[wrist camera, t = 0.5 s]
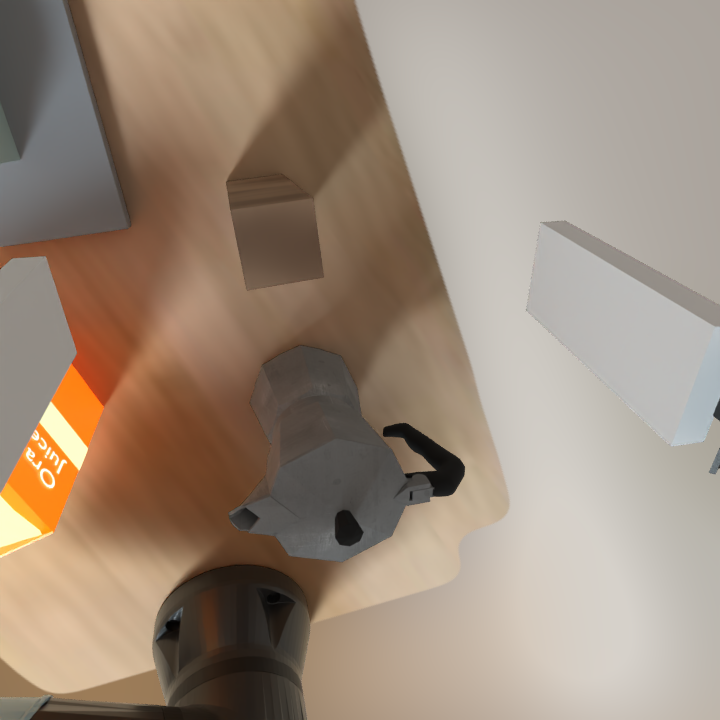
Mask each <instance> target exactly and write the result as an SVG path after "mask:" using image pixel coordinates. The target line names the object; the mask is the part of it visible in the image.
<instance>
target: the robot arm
mask: <svg viewBox="0 0 720 720" xmlns="http://www.w3.org/2000/svg"><path fill="white" fill-rule="evenodd" d="M526 311H528V313H529V314H530V315H532V316H533V317H534V318H535V319H536V320H537V321H538V322H539V323H540V324H541V325H542V326H543V327H544V328H545V329H547V330H548V331H549V332H550V333H551V334H552V335H553V336H554V337H555V338H556V339H557V340H558V341H559V342H560V343H561V344H562V345H564V346H565V347H566V348H567V349H568V350H569V351H570V352H571V353H572V354H573V355H574V356H575V357H576V358H577V359H578V360H580V361H581V362H582V363H583V364H584V365H585V366H586V367H587V368H588V369H589V370H590V371H591V372H592V373H593V374H594V375H595V376H597V378H599V379H600V380H601V381H602V382H603V383H604V384H605V385H606V386H607V387H608V388H609V389H610V390H611V391H613V392H614V393H615V394H616V395H617V396H618V397H619V398H620V399H621V400H622V401H623V402H624V403H625V404H626V405H627V406H628V407H629V408H631V409H632V410H633V411H634V412H635V413H636V414H637V415H638V416H639V417H640V418H641V419H642V420H643V421H644V422H645V423H646V424H647V425H649V426H650V427H651V428H652V429H653V430H654V431H655V432H656V433H657V434H658V435H659V436H660V437H661V438H662V439H664V440H665V441H666V442H667V443H668V444H669V445H670V446H677V445H684V444H691V443H698V442H704V440H705V437H706V435H707V433H708V430H709V427H710V425H711V423H712V420H713V418H714V417H715V418H717V419H718V420H719V421H720V305H719V304H717V303H715V302H713V301H711V300H709V299H708V298H706V297H704V296H702V295H700V294H699V293H697V292H695V291H693V290H691V289H689V288H687V287H686V286H684V285H682V284H680V283H678V282H677V281H675V280H673V279H671V278H669V277H667V276H665V275H664V274H662V273H660V272H658V271H656V270H655V269H653V268H651V267H649V266H647V265H645V264H644V263H642V262H640V261H638V260H636V259H634V258H633V257H631V256H629V255H627V254H625V253H623V252H622V251H620V250H618V249H616V248H614V247H612V246H611V245H609V244H607V243H605V242H603V241H601V240H600V239H598V238H596V237H594V236H592V235H590V234H589V233H587V232H585V231H583V230H581V229H579V228H578V227H576V226H574V225H572V224H570V223H568V222H567V221H555V222H541V223H540V229H539V235H538V242H537V247H536V253H535V259H534V265H533V271H532V277H531V284H530V290H529V296H528V302H527V308H526ZM76 354H77V351H76V348H75V345H74V342H73V339H72V336H71V332H70V329H69V326H68V323H67V320H66V317H65V314H64V311H63V308H62V305H61V302H60V299H59V296H58V293H57V289H56V286H55V283H54V280H53V277H52V274H51V271H50V268H49V265H48V262H47V259H46V256H41V257H27V258H12V259H11V260H10V261H9V262H8V263H7V264H6V265H4V266H3V267H2V268H1V269H0V494H1V492H2V490H3V489H4V487H5V485H6V483H7V481H8V479H9V477H10V476H11V474H12V472H13V470H14V468H15V466H16V465H17V463H18V461H19V459H20V457H21V455H22V454H23V452H24V450H25V448H26V446H27V444H28V443H29V441H30V439H31V437H32V435H33V433H34V431H35V430H36V428H37V426H38V424H39V422H40V420H41V419H42V417H43V415H44V413H45V411H46V409H47V408H48V406H49V404H50V402H51V400H52V398H53V397H54V395H55V393H56V391H57V389H58V387H59V385H60V384H61V382H62V380H63V378H64V376H65V374H66V373H67V371H68V369H69V367H70V365H71V363H72V362H73V360H74V358H75V356H76ZM719 468H720V448H719V451H718V453H717V455H716V457H715V460H714V462H713V465H712V467H711V469H710V471H709V473H712V474H716V472H717V470H718V469H719ZM309 634H310V618H309V612H308V607H307V602H306V599H305V596H304V594H303V592H302V590H301V589H300V587H299V586H298V585H297V584H296V583H295V582H294V581H293V580H292V579H290V578H289V577H287V576H286V575H284V574H282V573H280V572H278V571H275V570H272V569H269V568H265V567H260V566H250V565H239V566H229V567H223V568H219V569H215V570H212V571H209V572H206V573H204V574H201V575H199V576H197V577H195V578H193V579H191V580H189V581H188V582H186V583H184V584H183V585H182V586H180V587H179V588H178V589H177V590H175V591H174V592H173V593H172V594H171V595H170V596H169V597H168V599H167V600H166V601H165V602H164V604H163V605H162V607H161V609H160V610H159V613H158V615H157V618H156V621H155V627H154V636H153V644H152V649H153V658H154V662H155V666H156V669H157V673H158V676H159V680H160V684H161V687H162V691H163V694H164V698H165V702H166V705H167V706H159V705H148V704H131V703H115V702H99V701H83V700H72V699H60V698H53V696H52V695H44V696H42V697H24V698H23V697H20V698H19V697H16V698H13V697H11V698H10V697H9V698H8V697H0V720H307V715H306V709H305V703H304V697H303V690H302V683H301V680H302V674H303V668H304V662H305V657H306V651H307V645H308V641H309Z"/></svg>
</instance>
